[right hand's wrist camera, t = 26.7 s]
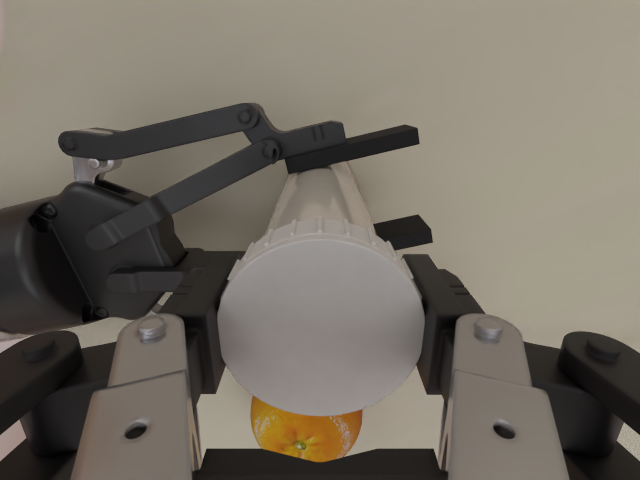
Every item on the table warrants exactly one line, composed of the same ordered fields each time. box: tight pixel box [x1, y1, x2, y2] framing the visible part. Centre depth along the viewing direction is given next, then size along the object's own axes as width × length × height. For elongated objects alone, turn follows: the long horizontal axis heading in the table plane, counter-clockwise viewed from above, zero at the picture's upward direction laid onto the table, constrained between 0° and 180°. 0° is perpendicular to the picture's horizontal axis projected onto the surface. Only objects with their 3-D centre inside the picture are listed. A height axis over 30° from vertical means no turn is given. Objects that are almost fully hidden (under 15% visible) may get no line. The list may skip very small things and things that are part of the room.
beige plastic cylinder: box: [264, 161, 378, 236], centre depth 18 cm, size 4×4×17 cm
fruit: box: [251, 395, 362, 462], centre depth 29 cm, size 8×8×8 cm
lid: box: [217, 216, 425, 416], centre depth 10 cm, size 5×5×2 cm
